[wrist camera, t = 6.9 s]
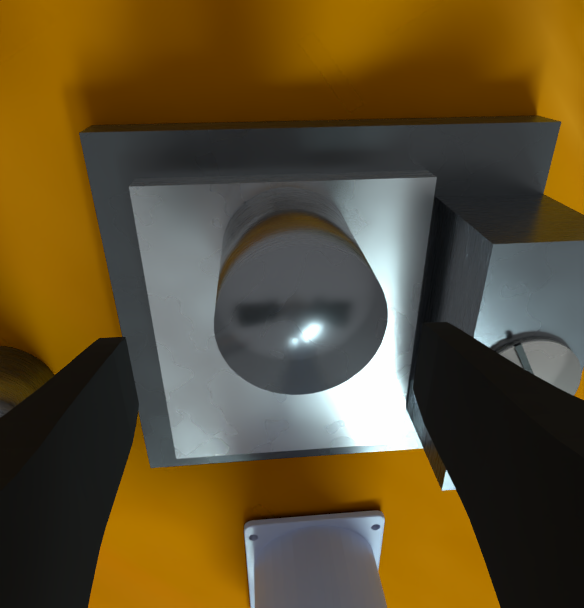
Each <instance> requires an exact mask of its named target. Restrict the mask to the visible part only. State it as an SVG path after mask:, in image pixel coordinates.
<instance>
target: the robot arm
mask: <svg viewBox="0 0 584 608" xmlns="http://www.w3.org/2000/svg"><path fill="white" fill-rule="evenodd" d="M413 391H414V394H415V398H416V401H417V404H418V407H419V410H420V413H421V416H422V419H423V422H424V425H425V427H426V429H427V431H428V433H429V435H430V437H431V439H432V441H433V444H434V446H435V448H436V450H437V452H438V454H439V456H440V458H441V460H442V462H443V464H444V466H445V468H446V470H447V472H448V474H449V476H450V478H451V480H452V482H453V484H454V486H455V488H456V491H457V493H458V495H459V497H460V499H461V501H462V503H463V505H464V508H465V510H466V512H467V514H468V517H469V519H470V522H471V524H472V527H473V530H474V532H475V535H476V538H477V541H478V543H479V546H480V549H481V552H482V554H483V557H484V560H485V563H486V566H487V569H488V571H489V574H490V577H491V580H492V583H493V586H494V589H495V592H496V595H497V598H498V601H499V604H500V607H501V608H584V400H582V399H580V398H577V397H575V396H573V395H571V394H569V393H567V392H565V391H563V390H561V389H559V388H557V387H555V386H554V385H552V384H550V383H548V382H546V381H545V380H543V379H541V378H539V377H537V376H535V375H534V374H532V373H530V372H528V371H527V370H525V369H523V368H522V367H520V366H518V365H517V364H515V363H513V362H512V361H510V360H508V359H507V358H505V357H503V356H502V355H500V354H499V353H497V352H495V351H494V350H492V349H491V348H489V347H488V346H486V345H484V344H483V343H481V342H480V341H478V340H477V339H475V338H473V337H472V336H470V335H469V334H467V333H465V332H464V331H462V330H461V329H459V328H457V327H455V326H454V325H452V324H450V323H448V322H433V323H423V324H422V331H421V337H420V344H419V351H418V357H417V364H416V370H415V377H414V383H413ZM138 409H139V401H138V396H137V391H136V386H135V381H134V376H133V371H132V366H131V361H130V356H129V351H128V346H127V341H126V337H114V338H99V339H98V340H96V341H95V342H94V343H92V344H91V345H90V346H89V347H88V348H86V349H85V350H84V351H83V352H82V353H80V354H79V355H78V356H77V357H76V358H75V359H73V360H72V361H71V362H70V363H69V364H68V365H66V366H65V367H64V368H63V369H62V370H61V371H59V372H58V373H57V374H56V375H55V376H53V377H52V378H51V379H50V380H49V381H47V382H46V383H45V384H44V385H43V386H41V387H40V388H39V389H38V390H36V391H35V392H34V393H32V394H31V395H30V396H28V397H27V398H26V399H24V400H23V401H22V402H20V403H19V404H18V405H17V406H15V407H14V408H13V409H11V410H10V411H9V412H7V413H6V414H5V415H3V416H2V417H1V418H0V608H88V603H89V598H90V593H91V588H92V583H93V579H94V574H95V569H96V564H97V560H98V555H99V550H100V546H101V542H102V539H103V535H104V531H105V528H106V525H107V521H108V518H109V515H110V512H111V509H112V506H113V503H114V500H115V497H116V493H117V490H118V487H119V484H120V481H121V478H122V475H123V472H124V468H125V465H126V462H127V459H128V456H129V453H130V449H131V446H132V443H133V438H134V432H135V427H136V421H137V415H138ZM384 523H385V518H384V515H383V513H382V512H381V511H378V510H373V511H361V512H349V513H336V514H324V515H312V516H299V517H287V518H275V519H262V520H252V521H248V522H247V523H246V524H245V525H244V537H245V549H246V560H247V571H248V583H249V594H250V605H251V608H387V605H386V601H385V597H384V593H383V589H382V585H381V581H380V577H379V573H378V569H379V561H380V553H381V546H382V538H383V530H384Z"/></svg>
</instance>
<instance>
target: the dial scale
mask: <svg viewBox="0 0 584 608" xmlns="http://www.w3.org/2000/svg"><path fill="white" fill-rule="evenodd" d="M560 125H561V122H560V121H557V120H553V119H549V118H545V117H541V116H496V117H450V118H404V119H358V120H312V121H266V122H220V123H174V124H128V125H92V126H90V127H88V128H86V129H85V130H83V131H81V132H79V135H80V140H81V144H82V149H83V154H84V158H85V163H86V168H87V172H88V177H89V182H90V186H91V191H92V196H93V200H94V205H95V210H96V215H97V219H98V224H99V229H100V233H101V238H102V243H103V247H104V252H105V257H106V261H107V266H108V271H109V275H110V280H111V285H112V289H113V294H114V299H115V304H116V308H117V313H118V318H119V322H120V327H121V332H122V336H123V337H126V341H127V346H128V351H129V356H130V361H131V366H132V371H133V376H134V381H135V386H136V391H137V396H138V401H139V409H138V411H139V416H140V421H141V425H142V430H143V435H144V439H145V444H146V449H147V453H148V458H149V463H150V467H151V468H155V467H169V466H183V465H196V464H210V463H224V462H238V461H252V460H266V459H279V458H293V457H307V456H321V455H335V454H349V453H363V452H376V451H390V450H404V449H418V448H423V449H424V451H425V453H426V455H427V458H428V460H429V462H430V465H431V467H432V469H433V471H434V474H435V476H436V478H437V481H438V483H439V485H440V487H441V490H454V489H456V488H455V486H454V484H453V482H452V480H451V478H450V476H449V474H448V472H447V470H446V468H445V466H444V464H443V462H442V460H441V458H440V456H439V454H438V452H437V450H436V448H435V446H434V444H433V441H432V439H431V437H430V435H429V433H428V431H427V429H426V427H425V425H424V422H423V419H422V416H421V413H420V410H419V407H418V404H417V401H416V398H415V394H414V391H413V383H414V377H415V370H416V364H417V357H418V351H419V344H420V337H421V331H422V324H423V323H433V322H448V323H450V324H452V325H454V326H455V327H457V328H459V329H461V330H462V331H464V332H465V333H467V334H469V335H470V336H472V337H473V338H475V339H477V340H478V341H480V342H481V343H483V344H484V345H486V346H488V347H489V348H491V349H492V350H494V351H495V352H497V353H499V354H500V355H502V356H503V357H505V358H507V359H508V360H510V361H512V362H513V363H515V364H517V365H518V366H520V367H522V368H523V369H525V370H527V371H528V372H530V373H532V374H534V375H535V376H537V377H539V378H541V379H543V380H545V381H546V382H548V383H550V384H552V385H554V386H555V387H557V388H559V389H561V390H563V391H565V392H567V393H569V394H571V395H573V396H574V394H575V393H576V391H577V389H578V386H579V384H580V380H581V373H582V370H583V367H584V215H583V214H581V213H579V212H577V211H575V210H573V209H571V208H569V207H567V206H565V205H563V204H561V203H560V202H558V201H556V200H554V199H552V198H550V197H548V196H546V195H544V194H543V193H544V189H545V185H546V181H547V177H548V173H549V169H550V165H551V161H552V157H553V153H554V149H555V145H556V141H557V137H558V133H559V129H560ZM284 187H292V188H301V189H305V190H309V191H312V192H314V193H316V194H319V195H321V196H322V197H324V198H325V199H327V200H328V201H329V202H330V203H332V204H333V205H334V206H335V207H336V208H337V210H338V211H339V212H340V213H341V215H342V216H343V218H344V220H345V221H346V223H347V225H348V227H349V229H350V231H351V232H352V234H353V236H354V238H355V240H356V241H357V243H358V245H359V247H360V249H361V250H362V252H363V254H364V256H365V258H366V260H367V261H368V263H369V265H370V267H371V269H372V270H373V272H374V274H375V276H376V278H377V279H378V281H379V283H380V285H381V287H382V289H383V292H384V294H385V298H386V301H387V308H388V323H387V329H386V333H385V336H384V339H383V342H382V344H381V346H380V348H379V350H378V351H377V353H376V354H375V356H374V357H373V359H372V360H371V361H370V362H369V363H368V365H367V366H366V367H365V368H363V369H362V370H361V371H360V372H359V373H358V374H356V375H355V376H354V377H352V378H351V379H349V380H348V381H346V382H344V383H342V384H340V385H338V386H336V387H334V388H331V389H328V390H325V391H322V392H317V393H312V394H304V395H288V394H279V393H274V392H270V391H267V390H264V389H261V388H259V387H256V386H254V385H252V384H250V383H249V382H247V381H245V380H244V379H242V378H241V377H240V376H239V375H237V374H236V373H235V372H234V371H233V370H232V369H231V368H230V367H229V365H228V364H227V363H226V361H225V360H224V358H223V357H222V355H221V353H220V351H219V349H218V346H217V343H216V339H215V334H214V314H215V305H216V296H217V286H218V277H219V268H220V259H221V250H222V242H223V236H224V233H225V229H226V227H227V225H228V223H229V221H230V219H231V218H232V216H233V215H234V213H235V212H236V211H237V210H238V208H240V207H241V206H242V205H243V204H244V203H245V202H246V201H248V200H249V199H251V198H252V197H254V196H256V195H258V194H260V193H262V192H265V191H268V190H271V189H276V188H284Z"/></svg>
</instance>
